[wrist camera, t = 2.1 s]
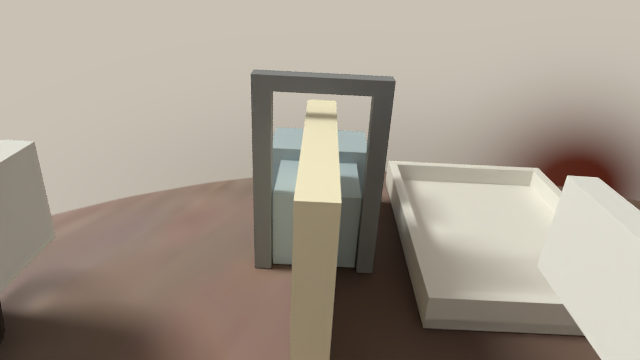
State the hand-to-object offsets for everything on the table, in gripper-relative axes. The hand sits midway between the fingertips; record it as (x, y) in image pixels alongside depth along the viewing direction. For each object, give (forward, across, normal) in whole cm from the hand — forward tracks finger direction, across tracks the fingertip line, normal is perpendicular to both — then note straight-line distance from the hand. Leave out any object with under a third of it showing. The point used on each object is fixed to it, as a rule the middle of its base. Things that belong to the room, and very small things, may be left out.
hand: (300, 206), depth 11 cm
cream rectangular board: (+14, +1, -15) cm, 21 cm away
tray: (+22, +16, -15) cm, 31 cm away
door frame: (+23, +1, -15) cm, 28 cm away
